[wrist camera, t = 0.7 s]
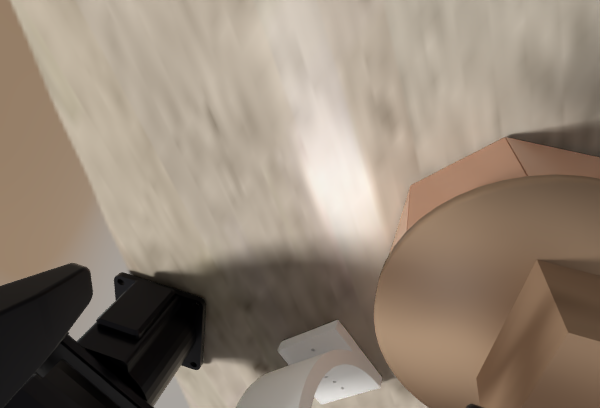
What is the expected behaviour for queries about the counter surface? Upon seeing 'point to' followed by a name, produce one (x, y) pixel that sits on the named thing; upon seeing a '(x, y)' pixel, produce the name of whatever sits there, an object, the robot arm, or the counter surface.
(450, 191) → the bowl
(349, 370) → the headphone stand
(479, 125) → the counter surface
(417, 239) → the lid
